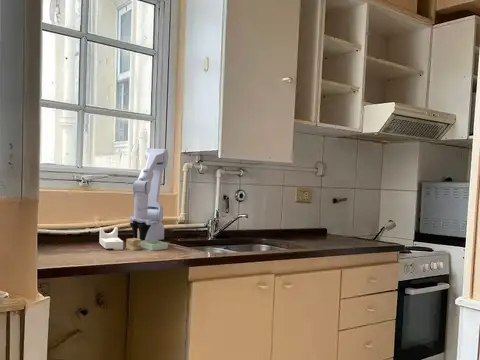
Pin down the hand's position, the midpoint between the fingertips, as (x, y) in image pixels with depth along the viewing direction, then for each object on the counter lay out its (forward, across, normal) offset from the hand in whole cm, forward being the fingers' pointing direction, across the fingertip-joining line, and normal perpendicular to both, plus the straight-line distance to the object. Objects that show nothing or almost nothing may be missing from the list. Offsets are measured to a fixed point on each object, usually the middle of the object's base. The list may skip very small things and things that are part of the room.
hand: (139, 239), depth 199 cm
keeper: (+2, 0, 0) cm, 2 cm away
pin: (+2, 0, 0) cm, 2 cm away
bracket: (+3, -2, -12) cm, 13 cm away
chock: (+3, +6, -6) cm, 9 cm away
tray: (+2, +8, +2) cm, 9 cm away
